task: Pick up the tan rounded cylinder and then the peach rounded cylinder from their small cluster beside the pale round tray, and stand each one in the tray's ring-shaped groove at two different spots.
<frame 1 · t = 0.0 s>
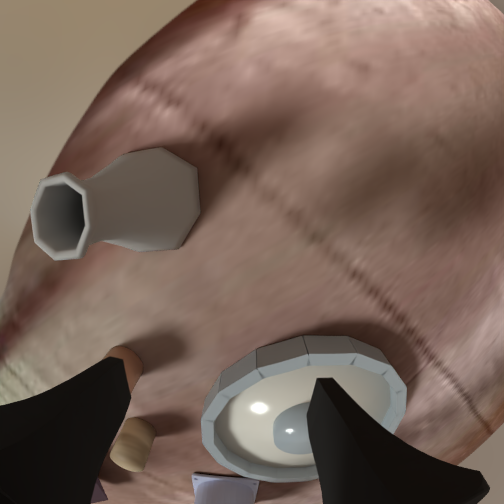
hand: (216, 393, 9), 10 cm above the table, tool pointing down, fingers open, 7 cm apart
tan rounded cylinder: (140, 428, 23), on the table
peach rounded cylinder: (125, 362, 21), on the table
groove tray: (304, 416, 22), on the table
flask 2: (151, 199, 18), on the table
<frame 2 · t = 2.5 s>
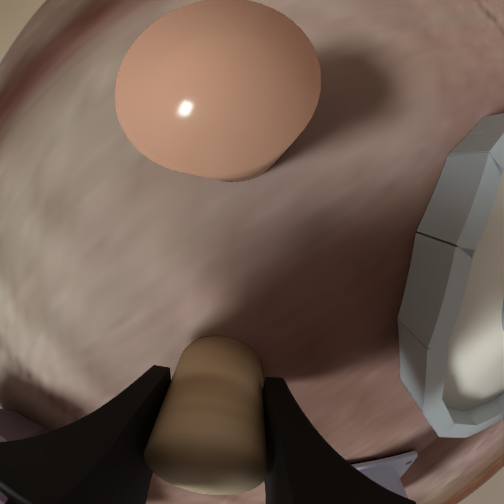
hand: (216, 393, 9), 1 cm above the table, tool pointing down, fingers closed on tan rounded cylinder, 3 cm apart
tan rounded cylinder: (220, 370, 11), on the table, touching gripper
peach rounded cylinder: (233, 131, 9), on the table
flask: (48, 449, 14), on the table
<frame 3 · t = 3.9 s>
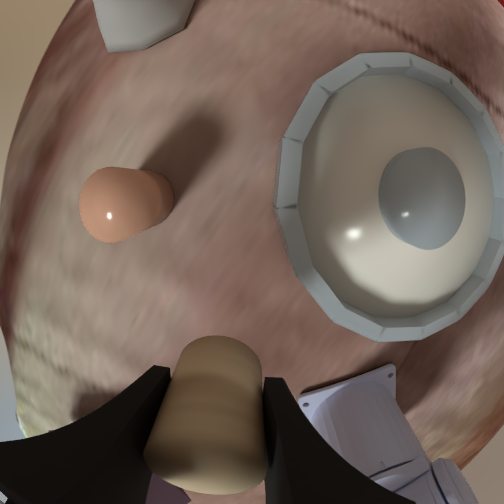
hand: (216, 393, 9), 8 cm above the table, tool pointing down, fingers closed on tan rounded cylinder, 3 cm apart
tan rounded cylinder: (219, 370, 11), point 7 cm above the table, touching gripper
peach rounded cylinder: (147, 199, 16), on the table
flask: (124, 452, 22), on the table
groove tray: (410, 196, 16), on the table
flask 2: (146, 16, 13), on the table
when the fingers open (3 cm above the table, at t = 5.7 s): tan rounded cylinder stays where it is, resting on groove tray.
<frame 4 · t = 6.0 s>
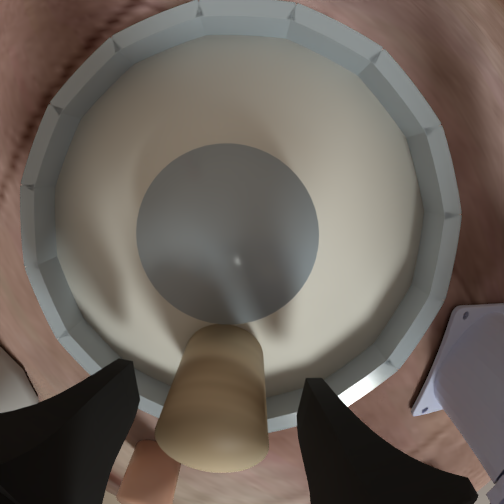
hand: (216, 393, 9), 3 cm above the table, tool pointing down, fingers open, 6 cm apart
tan rounded cylinder: (224, 357, 11), point 1 cm above the table, touching groove tray
peach rounded cylinder: (158, 453, 15), on the table
groove tray: (230, 227, 11), on the table
flask 2: (11, 376, 14), on the table
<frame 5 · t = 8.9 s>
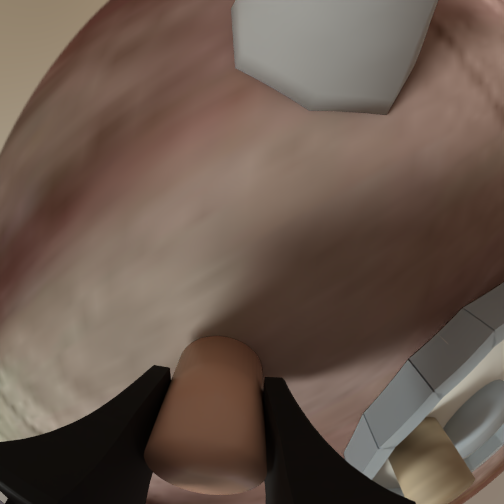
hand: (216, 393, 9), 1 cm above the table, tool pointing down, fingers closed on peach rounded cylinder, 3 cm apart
tan rounded cylinder: (412, 437, 11), point 1 cm above the table, touching groove tray
peach rounded cylinder: (220, 371, 11), on the table, touching gripper
groove tray: (467, 408, 12), on the table
flask 2: (324, 36, 8), on the table
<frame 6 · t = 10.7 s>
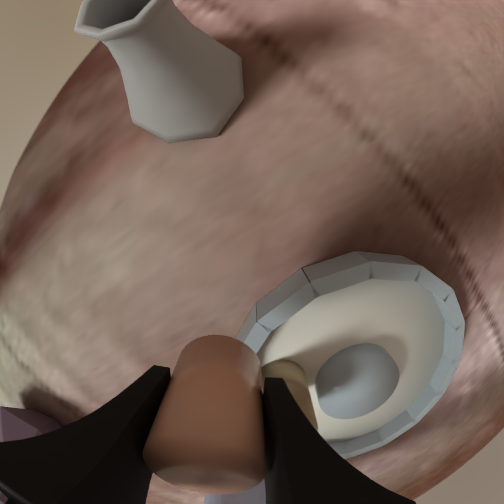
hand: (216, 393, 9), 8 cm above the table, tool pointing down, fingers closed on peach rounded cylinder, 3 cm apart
tan rounded cylinder: (280, 379, 18), point 1 cm above the table, touching groove tray
peach rounded cylinder: (219, 370, 11), point 7 cm above the table, touching gripper
flask: (56, 435, 22), on the table
groove tray: (350, 369, 19), on the table
flask 2: (187, 90, 15), on the table
when the fingers open (3 cm above the table, at t = 12.5 s): peach rounded cylinder stays where it is, resting on groove tray.
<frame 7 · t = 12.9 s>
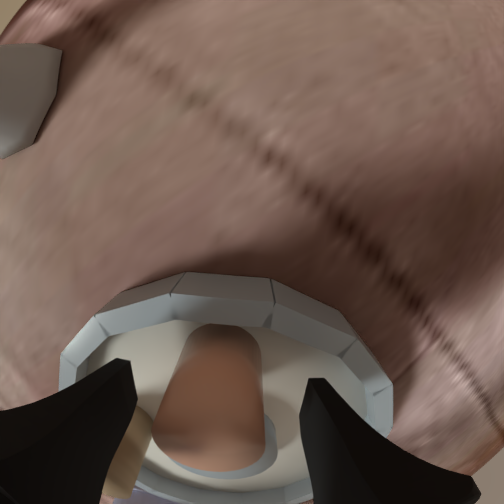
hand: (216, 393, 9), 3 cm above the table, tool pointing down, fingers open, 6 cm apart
tan rounded cylinder: (127, 418, 13), point 1 cm above the table, touching groove tray
peach rounded cylinder: (222, 356, 11), point 1 cm above the table, touching groove tray
groove tray: (222, 421, 14), on the table
flask 2: (22, 99, 10), on the table
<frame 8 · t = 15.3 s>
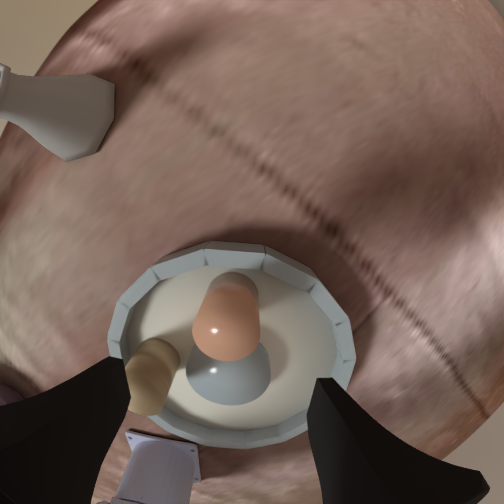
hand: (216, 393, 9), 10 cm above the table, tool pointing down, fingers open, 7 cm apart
tan rounded cylinder: (158, 356, 19), point 1 cm above the table, touching groove tray
peach rounded cylinder: (232, 296, 18), point 1 cm above the table, touching groove tray
flask: (22, 409, 24), on the table
groove tray: (230, 357, 20), on the table
flask 2: (80, 117, 16), on the table
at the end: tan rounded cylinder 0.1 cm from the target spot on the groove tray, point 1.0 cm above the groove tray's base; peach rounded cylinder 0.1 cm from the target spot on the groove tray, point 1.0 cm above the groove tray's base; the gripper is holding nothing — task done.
